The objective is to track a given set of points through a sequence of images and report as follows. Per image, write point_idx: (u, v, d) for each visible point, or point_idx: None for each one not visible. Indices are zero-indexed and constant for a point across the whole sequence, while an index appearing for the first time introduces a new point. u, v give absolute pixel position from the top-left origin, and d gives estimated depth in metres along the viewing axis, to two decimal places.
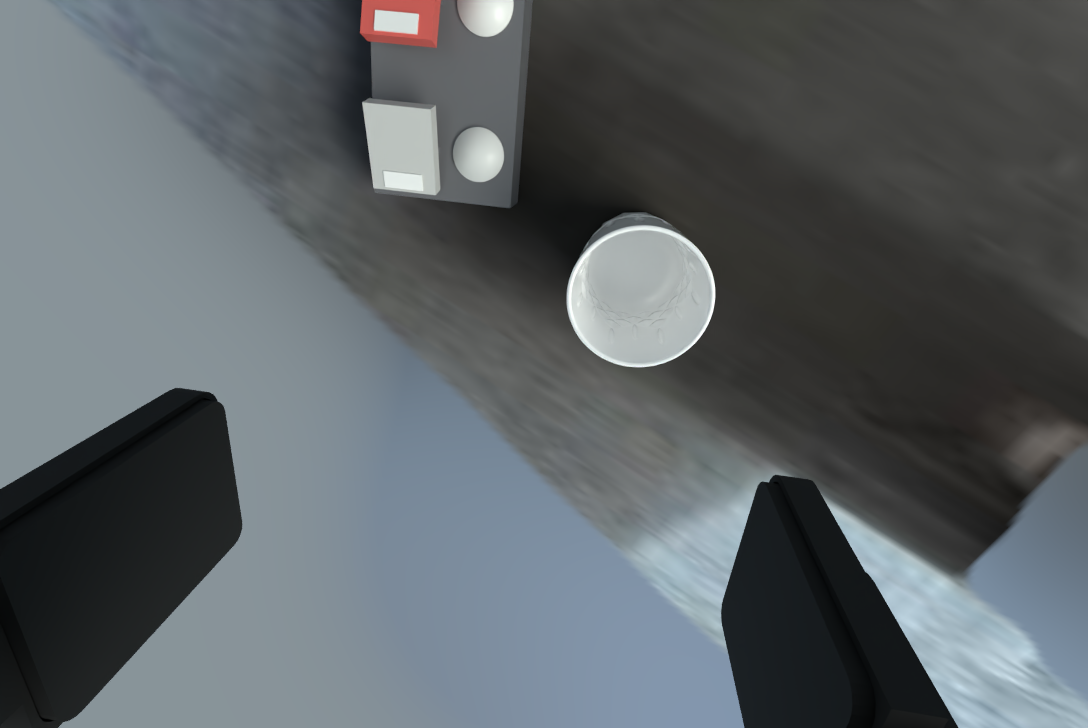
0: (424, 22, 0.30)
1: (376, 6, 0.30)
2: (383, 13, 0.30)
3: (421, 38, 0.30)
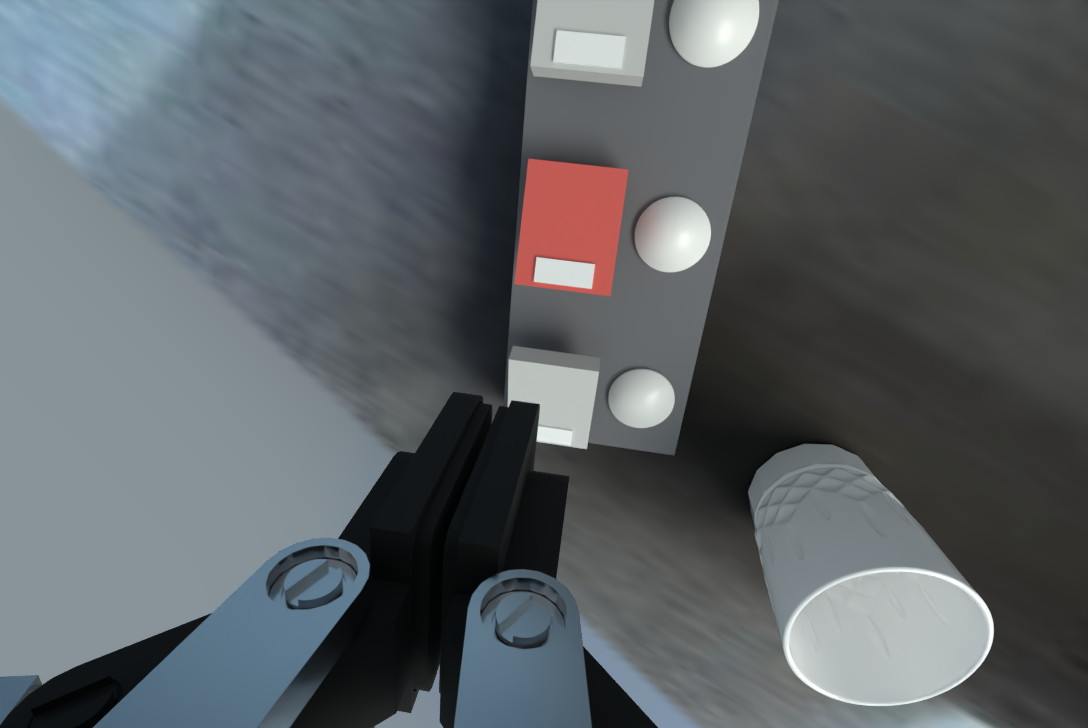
0: (602, 274, 0.22)
1: (537, 252, 0.22)
2: (547, 261, 0.22)
3: (596, 293, 0.23)
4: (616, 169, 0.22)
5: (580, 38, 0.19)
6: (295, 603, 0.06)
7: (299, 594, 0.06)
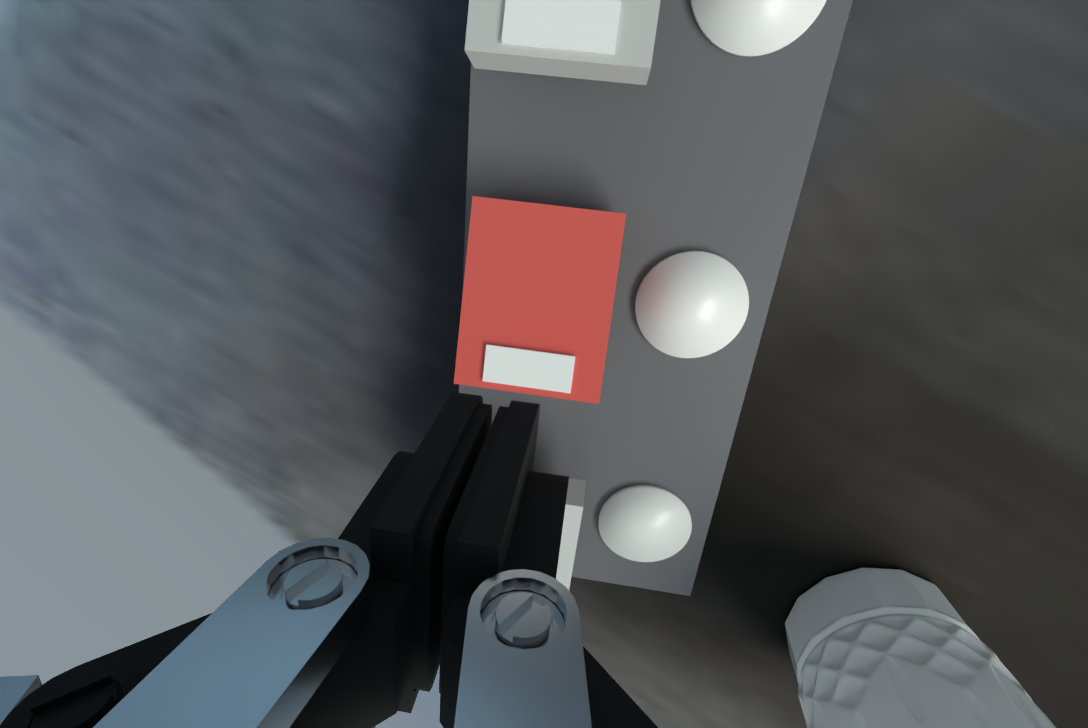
0: (586, 371, 0.15)
1: (488, 336, 0.15)
2: (503, 352, 0.15)
3: (578, 399, 0.15)
4: (607, 213, 0.14)
5: (545, 4, 0.11)
6: (295, 603, 0.06)
7: (299, 594, 0.06)
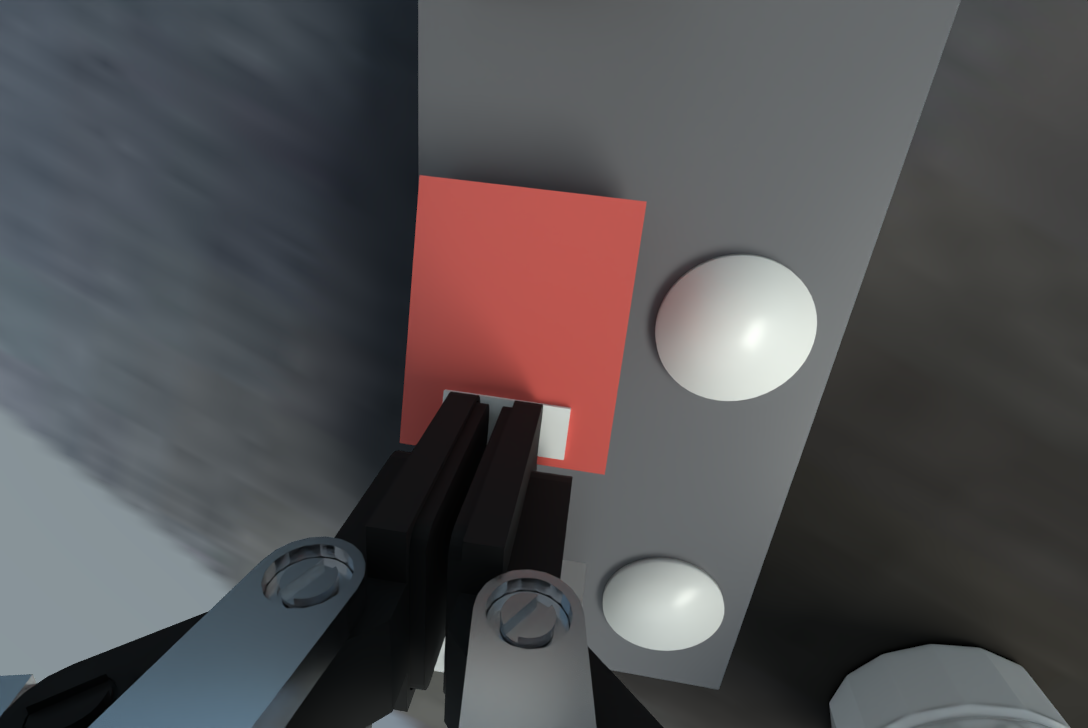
0: (586, 428, 0.10)
1: (447, 378, 0.10)
2: None
3: (575, 467, 0.10)
4: (618, 201, 0.09)
5: None
6: (291, 602, 0.06)
7: (295, 593, 0.06)
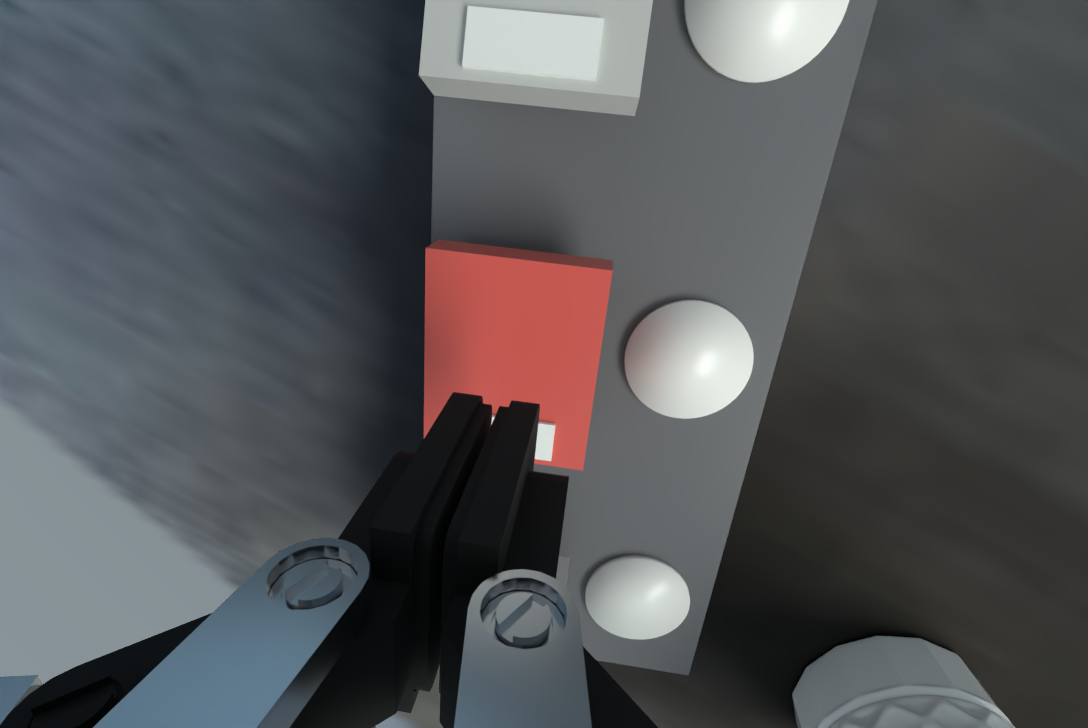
0: (568, 438, 0.13)
1: None
2: None
3: (560, 464, 0.14)
4: (589, 270, 0.12)
5: (514, 22, 0.10)
6: (295, 603, 0.06)
7: (299, 594, 0.06)
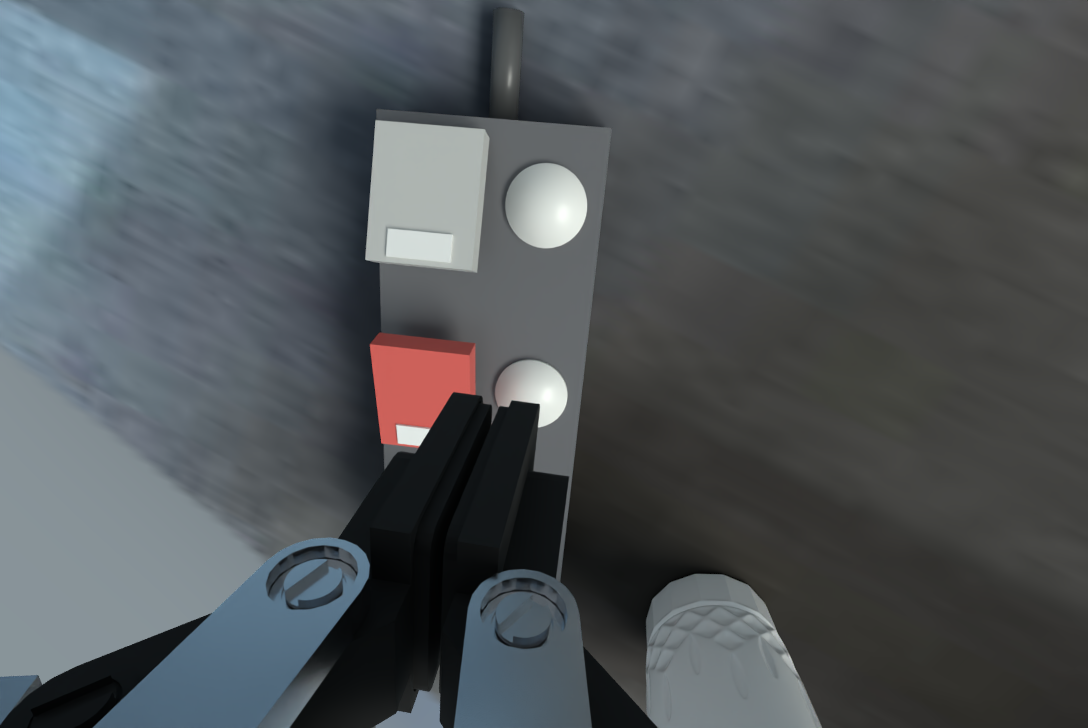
0: None
1: (397, 420, 0.23)
2: (407, 429, 0.23)
3: None
4: (457, 355, 0.21)
5: (410, 235, 0.20)
6: (295, 603, 0.06)
7: (299, 594, 0.06)
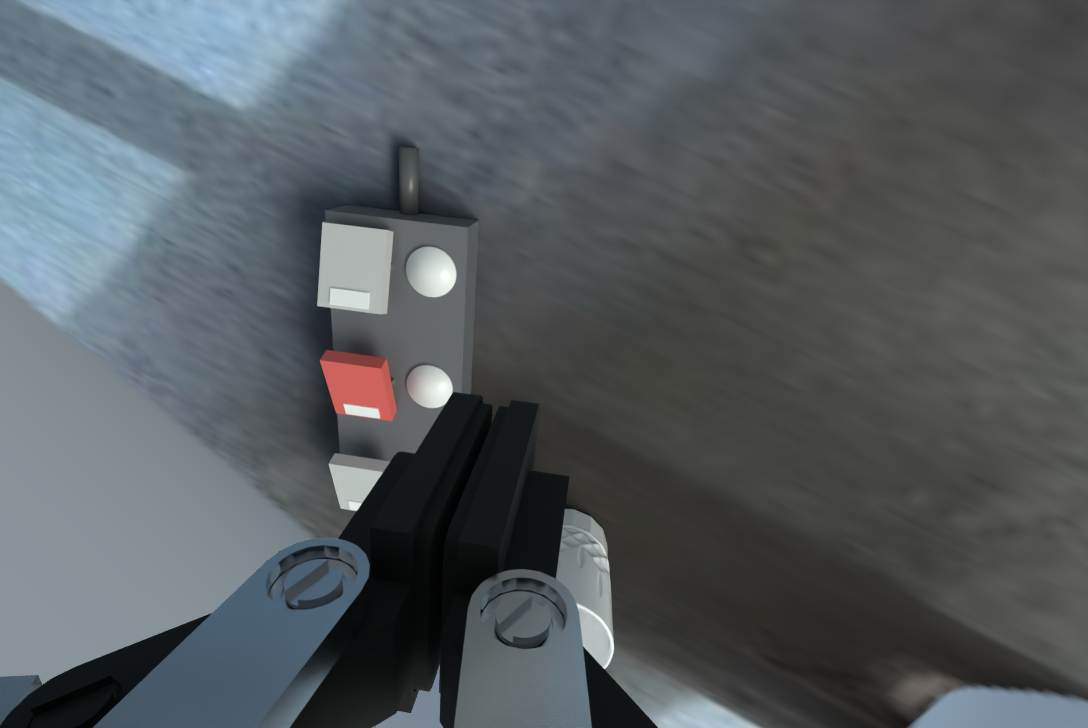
0: (383, 412, 0.37)
1: (343, 401, 0.37)
2: (350, 406, 0.37)
3: (384, 419, 0.38)
4: (373, 368, 0.34)
5: (343, 292, 0.33)
6: (295, 603, 0.06)
7: (299, 594, 0.06)
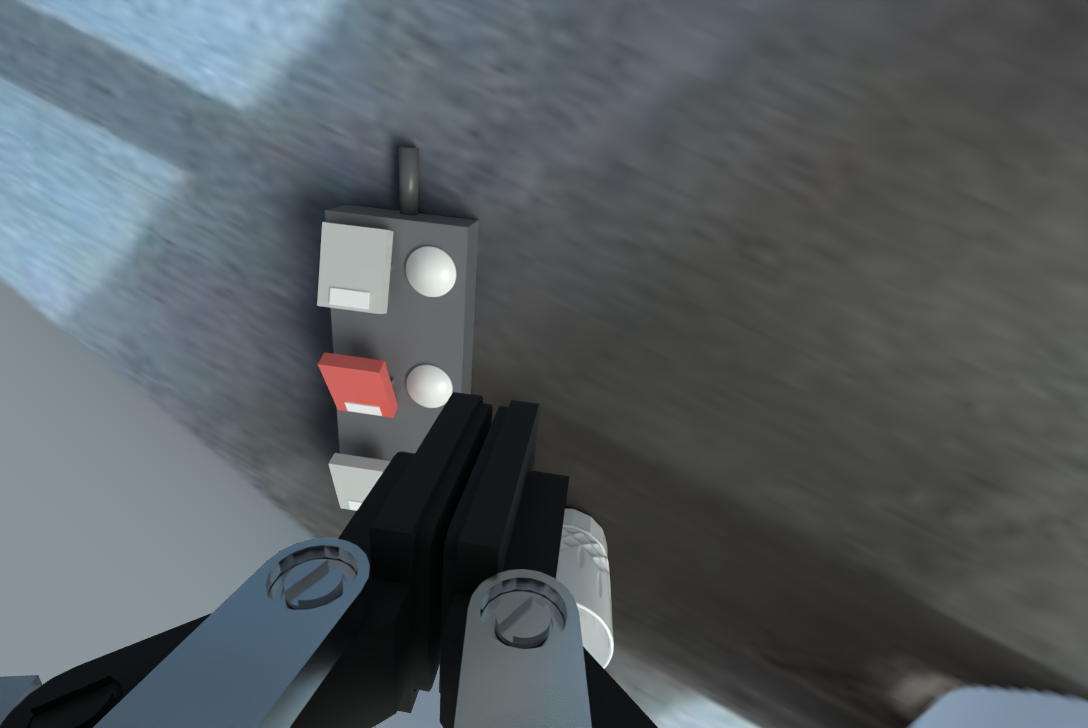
0: (384, 410, 0.38)
1: (344, 399, 0.37)
2: (351, 404, 0.37)
3: (385, 415, 0.38)
4: (372, 372, 0.34)
5: (343, 292, 0.33)
6: (295, 603, 0.06)
7: (299, 594, 0.06)
